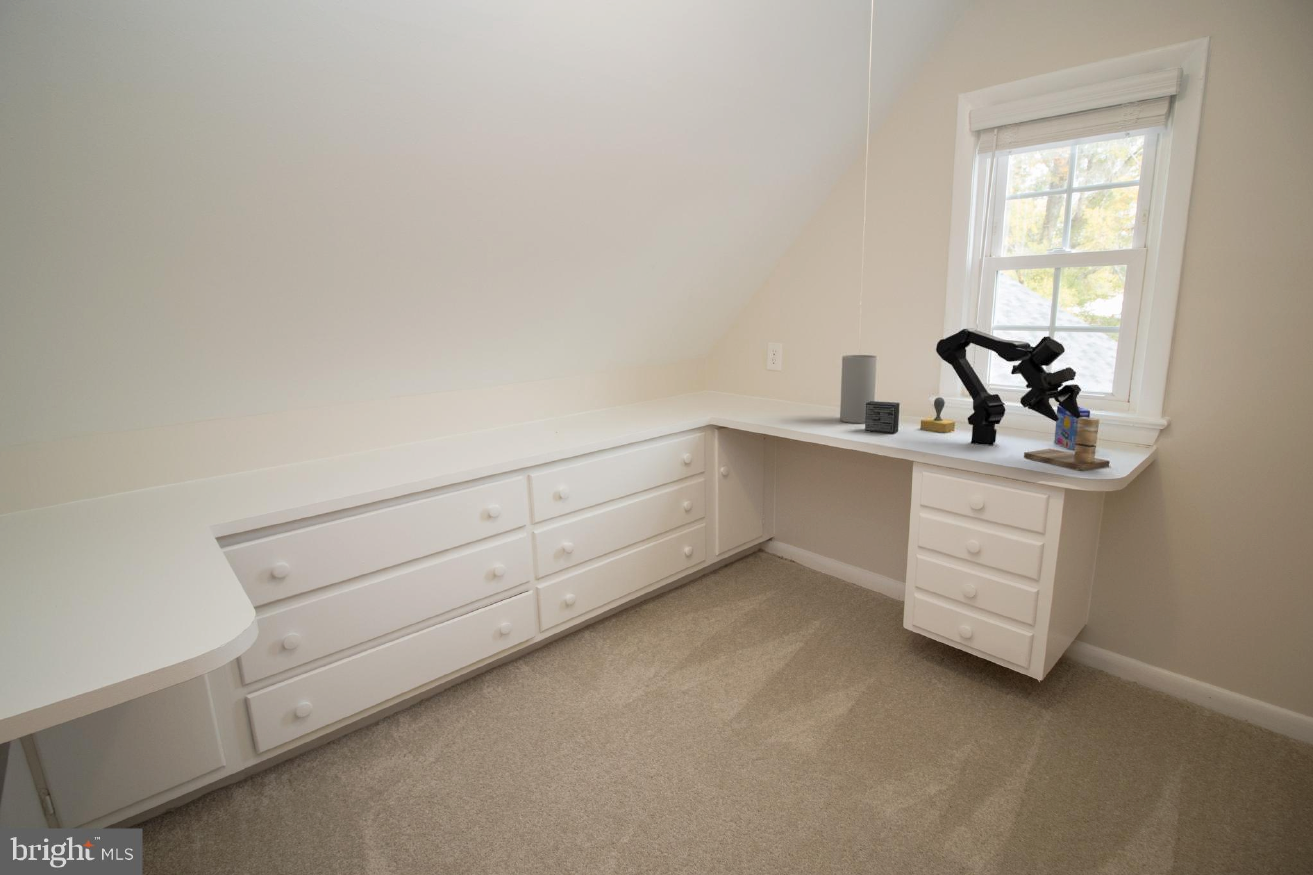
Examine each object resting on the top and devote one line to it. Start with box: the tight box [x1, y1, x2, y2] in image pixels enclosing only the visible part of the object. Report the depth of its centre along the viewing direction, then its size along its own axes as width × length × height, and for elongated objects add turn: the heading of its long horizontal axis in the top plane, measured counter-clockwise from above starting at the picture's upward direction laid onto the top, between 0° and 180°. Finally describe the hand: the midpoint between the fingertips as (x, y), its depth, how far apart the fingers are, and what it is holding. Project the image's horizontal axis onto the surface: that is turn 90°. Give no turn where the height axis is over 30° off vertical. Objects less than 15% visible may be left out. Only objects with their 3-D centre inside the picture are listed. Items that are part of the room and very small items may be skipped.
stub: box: [1076, 417, 1100, 446], centre depth 178 cm, size 4×2×7 cm, turn 24°
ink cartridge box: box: [1054, 405, 1091, 450], centre depth 201 cm, size 10×6×14 cm, turn 174°
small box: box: [864, 401, 900, 435], centre depth 230 cm, size 11×6×10 cm, turn 58°
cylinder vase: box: [839, 354, 878, 425], centre depth 249 cm, size 12×12×25 cm
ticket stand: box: [1023, 443, 1111, 471], centre depth 184 cm, size 18×11×6 cm, turn 24°
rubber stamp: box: [919, 396, 956, 434], centre depth 230 cm, size 10×6×12 cm, turn 35°
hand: (1068, 419), depth 182 cm, fingers open, 9 cm apart
